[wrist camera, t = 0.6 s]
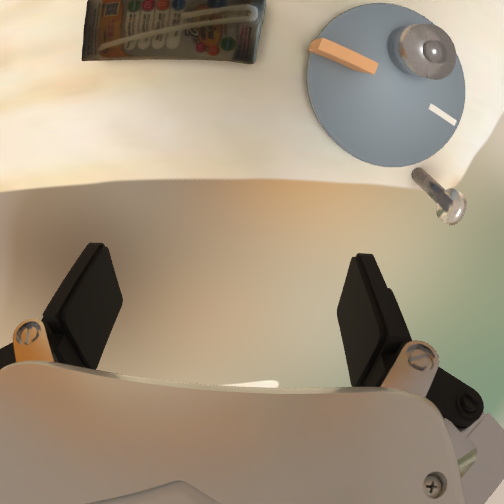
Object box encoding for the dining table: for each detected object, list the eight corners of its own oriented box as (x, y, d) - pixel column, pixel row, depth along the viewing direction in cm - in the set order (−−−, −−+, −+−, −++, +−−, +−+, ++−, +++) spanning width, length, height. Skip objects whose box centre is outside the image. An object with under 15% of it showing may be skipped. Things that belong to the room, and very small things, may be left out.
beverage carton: (256, 66, 31) (255, 67, 26) (101, 60, 30) (75, 64, 25) (266, 4, 27) (268, -7, 21) (108, 2, 25) (82, -3, 20)
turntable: (336, -25, 22) (355, -43, 16) (477, 60, 26) (514, 68, 20) (277, 125, 33) (281, 142, 27) (420, 185, 37) (446, 213, 31)
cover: (397, 16, 23) (421, 11, 19) (439, 43, 24) (468, 45, 20) (379, 59, 27) (402, 61, 22) (422, 83, 28) (449, 91, 23)
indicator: (419, 159, 36) (462, 197, 27) (429, 165, 37) (473, 203, 27) (406, 183, 39) (444, 227, 29) (416, 189, 39) (455, 232, 30)
